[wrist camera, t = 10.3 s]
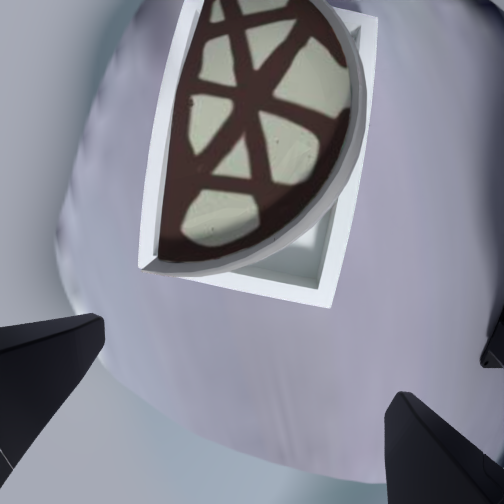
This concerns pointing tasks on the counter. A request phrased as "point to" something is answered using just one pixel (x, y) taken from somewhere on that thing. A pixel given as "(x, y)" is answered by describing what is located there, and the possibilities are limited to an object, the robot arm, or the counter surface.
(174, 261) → the food container
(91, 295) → the counter surface
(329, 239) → the tray
